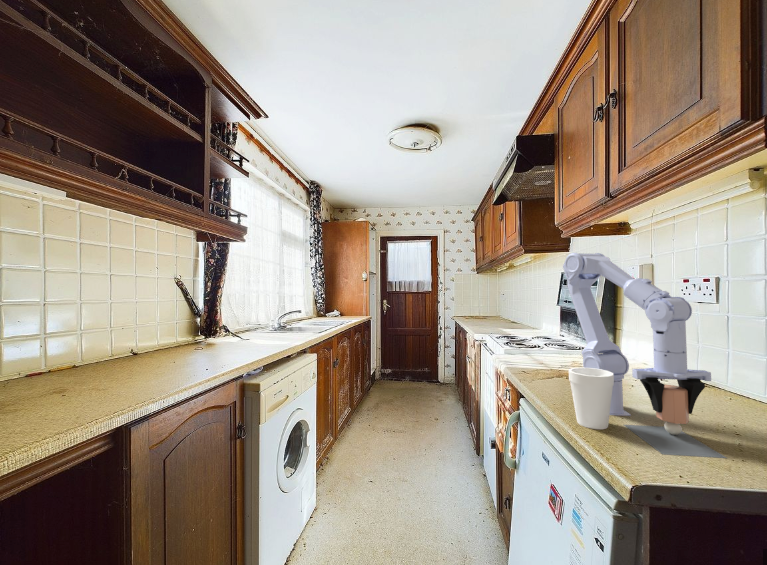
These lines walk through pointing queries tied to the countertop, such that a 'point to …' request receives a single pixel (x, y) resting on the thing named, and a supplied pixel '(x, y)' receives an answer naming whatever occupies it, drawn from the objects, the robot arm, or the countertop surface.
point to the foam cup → (591, 396)
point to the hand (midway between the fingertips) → (672, 411)
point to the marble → (673, 428)
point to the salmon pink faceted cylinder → (674, 405)
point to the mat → (673, 442)
